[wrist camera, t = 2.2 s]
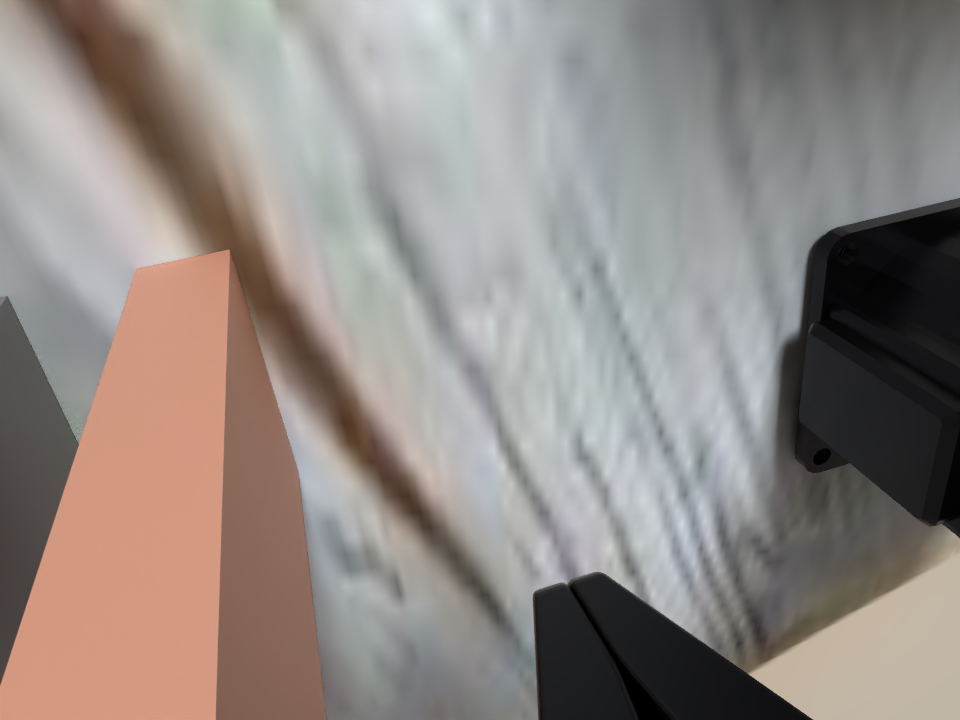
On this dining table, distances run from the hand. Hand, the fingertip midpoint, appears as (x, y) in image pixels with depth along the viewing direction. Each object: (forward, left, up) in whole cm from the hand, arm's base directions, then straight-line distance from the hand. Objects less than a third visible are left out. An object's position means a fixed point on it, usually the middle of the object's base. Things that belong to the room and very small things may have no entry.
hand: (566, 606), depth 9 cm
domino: (+4, 0, -8) cm, 9 cm away
